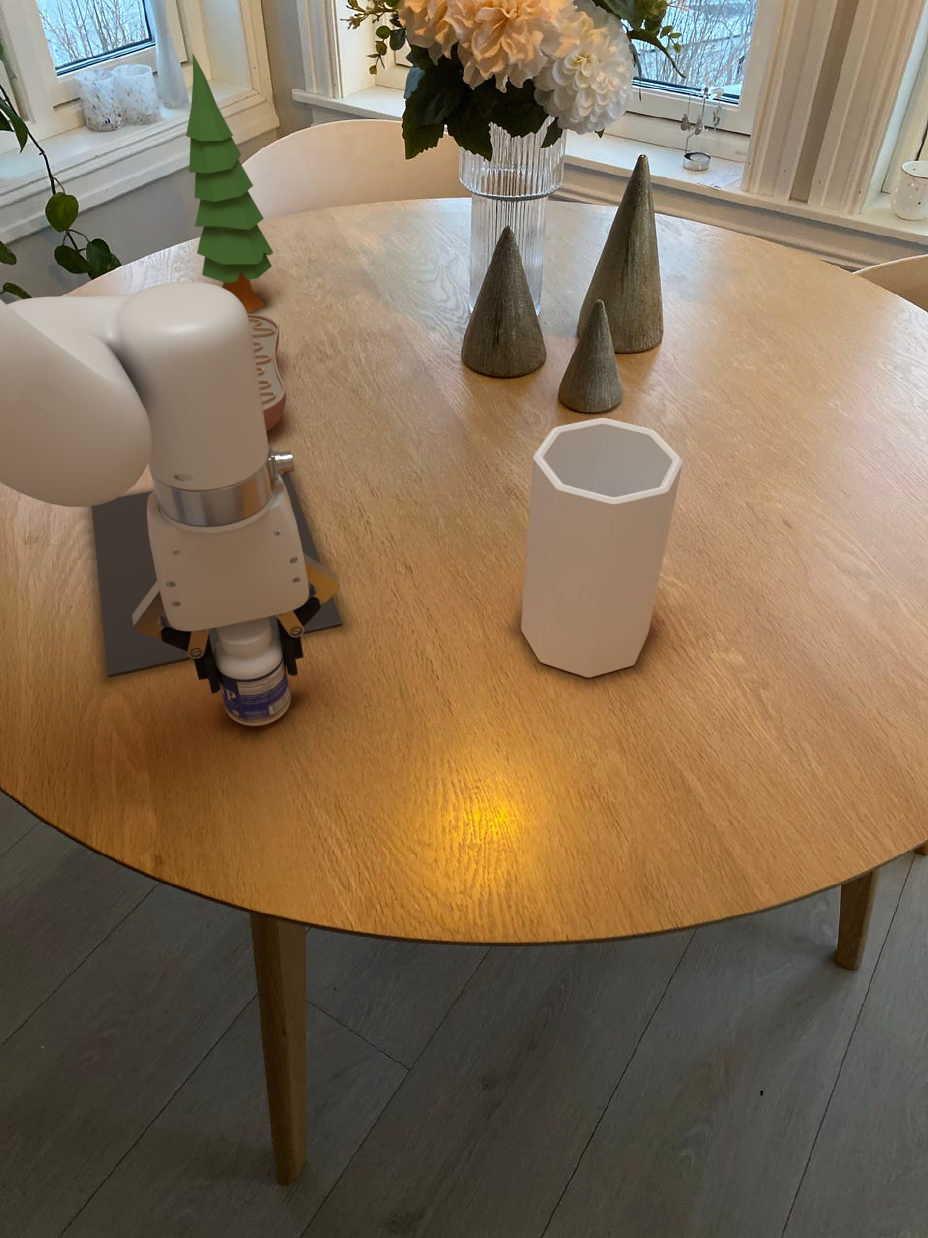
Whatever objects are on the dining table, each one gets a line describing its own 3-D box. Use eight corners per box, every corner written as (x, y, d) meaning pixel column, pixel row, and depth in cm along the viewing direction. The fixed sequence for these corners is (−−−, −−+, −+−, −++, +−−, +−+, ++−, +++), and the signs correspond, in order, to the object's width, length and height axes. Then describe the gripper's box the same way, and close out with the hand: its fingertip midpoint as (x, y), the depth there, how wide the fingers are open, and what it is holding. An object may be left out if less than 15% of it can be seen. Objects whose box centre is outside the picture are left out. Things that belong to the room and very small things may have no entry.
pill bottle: (218, 689, 78) (200, 610, 72) (281, 671, 80) (268, 592, 74) (234, 736, 75) (215, 657, 69) (299, 717, 76) (287, 637, 70)
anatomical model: (293, 449, 104) (287, 409, 101) (200, 458, 103) (191, 418, 100) (282, 348, 121) (277, 310, 117) (201, 354, 119) (194, 316, 116)
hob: (108, 676, 80) (107, 673, 80) (91, 504, 97) (90, 500, 97) (342, 625, 85) (342, 621, 84) (287, 469, 102) (286, 465, 101)
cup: (520, 588, 88) (532, 414, 76) (641, 591, 88) (673, 417, 75) (521, 677, 80) (535, 499, 68) (654, 681, 80) (693, 503, 67)
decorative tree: (212, 290, 132) (168, 42, 111) (281, 287, 133) (250, 41, 112) (206, 323, 125) (158, 65, 104) (279, 320, 126) (245, 64, 105)
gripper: (330, 429, 67) (348, 617, 79) (74, 470, 63) (135, 662, 75) (356, 490, 62) (370, 681, 74) (78, 540, 58) (143, 733, 70)
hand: (251, 670), depth 75 cm, fingers closed on pill bottle, 5 cm apart
